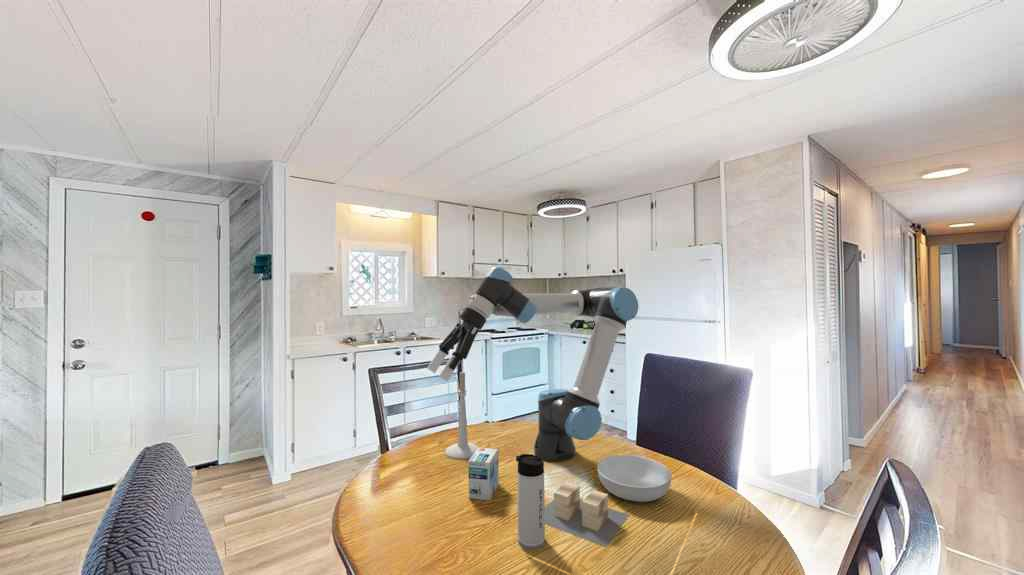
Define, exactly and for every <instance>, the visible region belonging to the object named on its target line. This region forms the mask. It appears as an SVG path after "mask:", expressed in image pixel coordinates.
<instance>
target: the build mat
mask: <svg viewBox="0 0 1024 575" xmlns="http://www.w3.org/2000/svg"><path fill="white" fill-rule="evenodd" d="M583 500H584V499H581V498H580V509H579V510H578V511H577V512H576V513H575V514H574V515H573V516H572V517H571V518H570V519H569V520H568V521H567V520H565V519H562V518H559V517H556V516H554V499H553V500H551V501H550V502H549V503H548V504H547V505H546V506H545V526H546V525H547V526H549V527H551V528H554V529H557V530H559V531H561V532H565V533H567V534H569V535H573V536H574V537H575V536H576V537H577V538H581V539H583V540H586V541H588V542H590V543H594V544H596V545H599V546H601V547H604V548H607V546H608V545H609V544H610V542H611V541H613V539H614V537H615V535H616V534H617V533H618V531H619V530H620V528H621V527H622V526H623V524H624V523H625V522H626V520H627V519H628V517H629V516H630V514H629V513H626V512H623V511H620V510H616V509H614V508H609V507H608V519H607V520H606V521H605V522H604V524H603V525H602V526H601V527H600V529H599V530H598V531H595V530H592V529H590V528H587V527H584V526H582V501H583Z"/></svg>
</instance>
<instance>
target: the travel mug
mask: <svg viewBox="0 0 1024 575" xmlns="http://www.w3.org/2000/svg"><path fill="white" fill-rule="evenodd" d="M515 456H516V457H515V461H516V462H517V536H518V537H517V543H518V545H519V546H520V547H521V548H523V549H524V550H530V551H531V550H532V551H535V550H539V549H541V548H543V547H544V545H545V543H546V537H545V536H546V533H545V532H546V527H545V526H546V524H545V507H546V506H545V468H544V467H545V462H544V461H545V460H543V459H542V458H540V457H539V456H536V455H535V454H531V453H522V454H520V455H515Z"/></svg>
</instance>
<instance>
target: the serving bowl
mask: <svg viewBox="0 0 1024 575" xmlns="http://www.w3.org/2000/svg"><path fill="white" fill-rule="evenodd" d="M596 471H597V474H598V475H597V476H598V478H599V481H600V482H601V484H602V486H604V488H605V489H606V490H607V491H608V492H609V493H610V494H612V495H613V496H616V497H618V498H620V499H622V500H626V501H630V502H636V503H637V502H638V503H639V502H640V503H645V502H652V501H656V500H658V499H660V498H662V497H663V496H664V495H666V493H667V492H668V491H669V489H670V487H671V482H672V472H671V471H670V469H669V468H668V467H667V466H666V465H664V464H663V463H661V462H659V461H658V460H655V459H652V458H649V457H646V456H645V457H644V456H641V455H636V454H635V455H633V454H616V455H614V454H613V455H609V456H607V457H604V458H603V459H600V460H599V462H598V463H597V464H596Z"/></svg>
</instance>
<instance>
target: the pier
mask: <svg viewBox="0 0 1024 575" xmlns="http://www.w3.org/2000/svg"><path fill="white" fill-rule="evenodd" d="M582 500H583V501H582V526H584V527H587V528H590V529H592V530H595V531H598V530H599V529H600V527H601V526H602V525H603V524H604V522H605V521H606V520H607V519H608V508H609V494H608V493H604V492H601V491H598V490H595V489H593V490H592V491H591V492H590V493H589V494H588V495H587V496H586V497H585V498H584V499H582Z"/></svg>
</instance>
